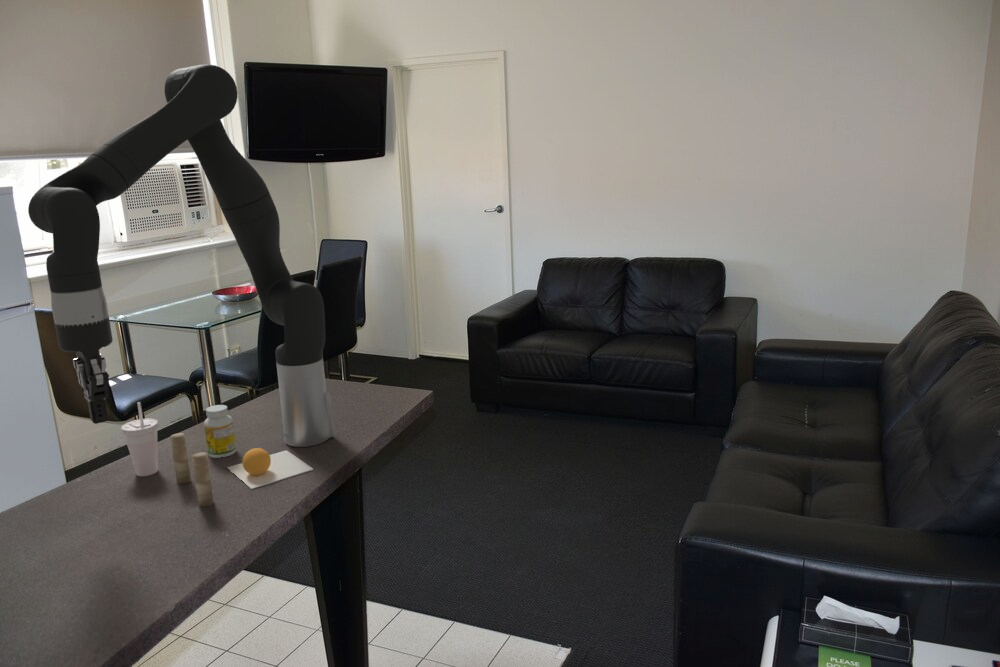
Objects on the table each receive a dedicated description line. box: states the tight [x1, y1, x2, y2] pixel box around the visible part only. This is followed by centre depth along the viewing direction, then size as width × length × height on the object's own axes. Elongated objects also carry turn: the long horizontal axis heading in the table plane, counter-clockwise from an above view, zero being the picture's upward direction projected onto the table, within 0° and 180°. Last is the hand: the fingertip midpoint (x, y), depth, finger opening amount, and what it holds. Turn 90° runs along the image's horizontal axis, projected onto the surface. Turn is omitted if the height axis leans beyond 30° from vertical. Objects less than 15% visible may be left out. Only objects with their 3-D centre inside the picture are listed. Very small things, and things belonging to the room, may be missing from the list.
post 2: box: [191, 451, 215, 508], centre depth 128 cm, size 2×2×9 cm
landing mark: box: [226, 450, 314, 490], centre depth 142 cm, size 12×12×1 cm
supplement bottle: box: [203, 404, 237, 459], centre depth 149 cm, size 5×5×10 cm
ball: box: [242, 447, 271, 475], centre depth 140 cm, size 5×5×5 cm
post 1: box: [169, 432, 192, 485], centre depth 137 cm, size 2×2×9 cm
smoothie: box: [120, 401, 160, 477], centre depth 141 cm, size 6×6×14 cm
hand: (99, 421), depth 121 cm, fingers closed
